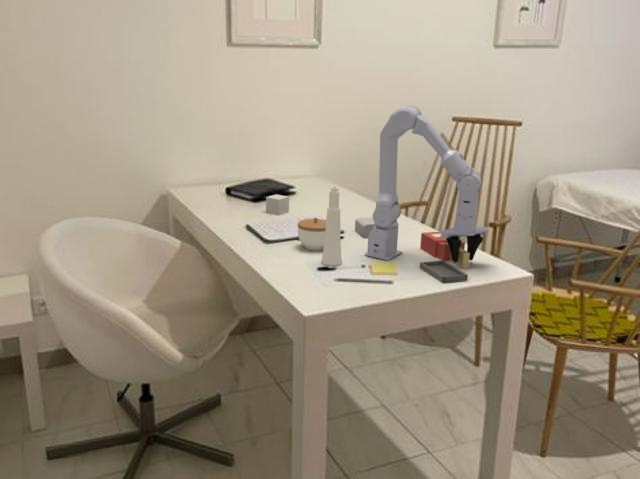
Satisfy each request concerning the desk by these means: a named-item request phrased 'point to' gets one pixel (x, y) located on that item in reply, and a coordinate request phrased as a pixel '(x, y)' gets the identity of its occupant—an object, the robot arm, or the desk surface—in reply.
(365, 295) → the desk surface
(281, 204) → the light gray cube
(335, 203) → the cosmetic bottle
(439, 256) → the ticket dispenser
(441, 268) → the ticket tray
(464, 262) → the wooden blocks
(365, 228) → the charger
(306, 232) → the lidded jar
